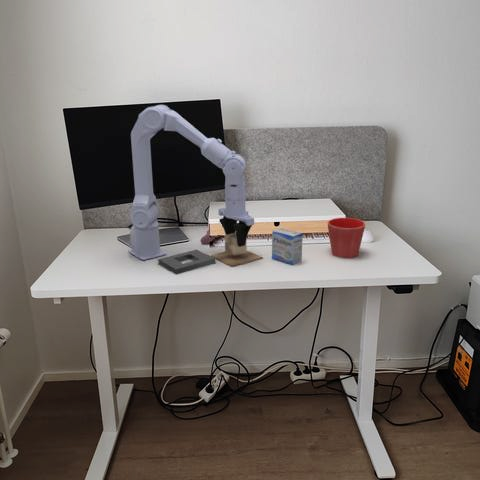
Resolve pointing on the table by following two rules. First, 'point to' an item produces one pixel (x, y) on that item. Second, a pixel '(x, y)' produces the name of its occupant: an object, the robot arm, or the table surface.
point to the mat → (236, 258)
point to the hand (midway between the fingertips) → (236, 243)
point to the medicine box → (287, 246)
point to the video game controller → (207, 238)
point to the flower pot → (345, 236)
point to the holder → (178, 267)
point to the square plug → (233, 245)
